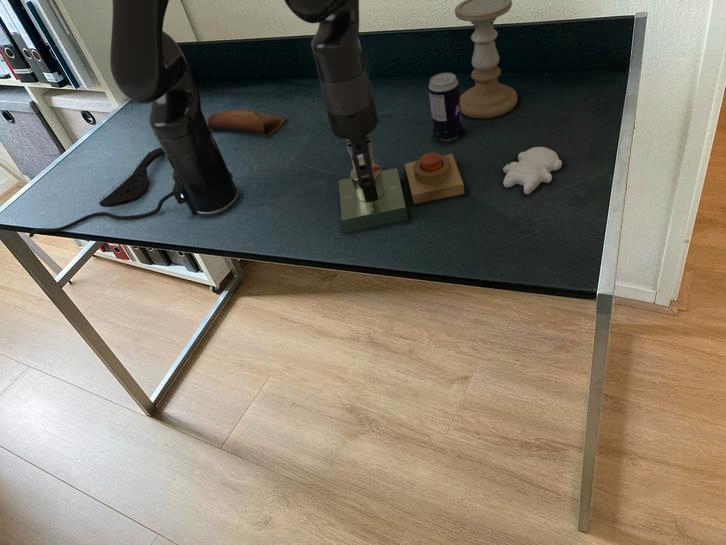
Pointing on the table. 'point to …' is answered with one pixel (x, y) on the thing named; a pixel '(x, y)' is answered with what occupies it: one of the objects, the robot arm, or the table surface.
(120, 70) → the robot arm
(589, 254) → the table surface
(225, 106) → the table surface
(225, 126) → the sunglasses case
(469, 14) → the candle holder
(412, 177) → the button block
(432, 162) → the button
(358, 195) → the rotary dial knob
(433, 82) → the beverage can
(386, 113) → the table surface
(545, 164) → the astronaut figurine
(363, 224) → the control knob panel
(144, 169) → the hairbrush
